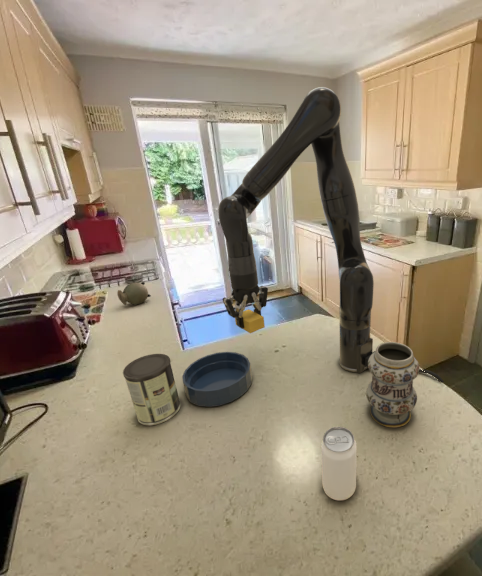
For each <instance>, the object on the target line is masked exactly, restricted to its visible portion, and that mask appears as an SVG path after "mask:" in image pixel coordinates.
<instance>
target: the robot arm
mask: <svg viewBox="0 0 482 576" xmlns="http://www.w3.org/2000/svg"><path fill="white" fill-rule="evenodd" d="M341 113H342V107H341V102H340V98H339V96H338V95H337V94H336V92H335V91H334V90H332V89H331V88H328V87H325V86H319V87H314V88H313V89H311V90H310V91H308V92H307V94H306V95H305V96H304V98H303V100H302V102H301V103H300V106H299V107H298V108H297V110H296V112H295V114H294V115H293V117H292V119H291V120H290V121H289V123H288V124H287V126H286V127H285V129H284V130H283V131H282V133H281V134H280V135H279V137H278V138H277V139H276V140H275V141H274V142H273V144H271V146H270V147H269V148H268V149H267V150H266V151H265V153H263V155H262V156H261V157H260V158H259V159H258V160H257V161H256V162H255V164H254V165H253V166H252V167H250V169H249V171H248V172H247V173H246V174H245V175H244V177H243V179H242V180H241V181H242V182H241V184H240V185H239V186H238V187H237V188H236V189H235V191H234V192H233V193H232V194H231V195H230V196H226V197H224V198H222V199H221V200H220V201H219V204H218V208H217V209H218V210H217V214H218V220H219V224H220V227H221V230H222V233H223V236H224V239H225V246H226V254H227V268H228V275H229V280H230V281H229V282H230V287H231V295H229V296H227V297H225V296H224V297H223V298H222V303H223V305H224V307H225V310H226V312H227V315H229V316H230V317H231V318H233V319H235V317H236V322H235V324H236V323H237V325H236V326H237V327H239V328H240V329H242V330H244V329H243V328H244V321H243V317H242V316H243V311H245V310H246V306H247V305H249V304H251V305H252V308H253V312H255V313H257V314H259V315H261V316H262V309H263V308H266V306H267V303H268V302H267V301H268V291H269V288H268V287H266V286H264V285H260V286H259V285H258V284H259V278H258V277H259V276H258V269H257V261H256V257H255V250H254V241H253V237H252V235H251V233H249V227H248V220H247V219H248V218H249V217H250V216H251V215H252V214H253V212H254V211H255V210H256V209H257V207H258V206H259V205H260V204H261V202H262V201H263V199H265V198H267V196H268V195H269V194H270V193H271V192H272V191H273V190H274V189H275V187H276V186H277V185H278V184H279V183H280V182H281V181H282V179H284V177H285V176H286V174H287V173H288V172H289V170H290V169H291V168H292V166H293V165H294V163H296V161H297V159H299V157H300V156H301V155H302V154H303V153H304V152H305V150H306V149H307V148H309V146H311V147H312V152H313V155H314V159H315V164H316V176H317V184H318V192H319V197H320V203H321V206H322V211H323V215H324V218H325V222H326V225H327V227H328V230H329V233H330V236H331V237H332V240H333V243H334V246H335V247H334V248H335V251H336V258H337V268H338V280H339V307H338V308H339V310H338V311H339V312H338V313H339V314H338V315H339V366H340V367H341V368H342V369H343V370H344V371H347V372H351V373H357V374H361V373H363V372H364V371H367V369H369V368H368V360H369V358H370V356H371V355H372V354H373V353H374V352H376V350H374V351H373V348H374V339H373V338H372V337H371V322H372V321H371V318H372V309H373V303H374V302H373V301H374V286H375V283H374V281H375V280H374V275H373V273H372V270H371V269H370V266H369V265H368V262H367V259H366V256H365V253H364V249H363V246H362V241H361V222H360V221H361V220H360V209H359V203H358V202H359V201H358V197H357V193H356V187H355V183H354V180H353V177H352V174H351V170H350V168H349V166H348V165H349V164H348V163H347V160H346V157H345V154H344V150H343V144H342V137H341V126H340V119H341V116H342V115H341ZM234 301H235V302H234ZM234 303H235V304H234ZM233 304H234V305H233ZM421 369H422V368H420V369H419V374H420V373H423V374H427V373H428V374H427V375H430V376H431V377H434V378H435V379H436V380H437V381H439V382H440V383H445V381H444V380H443V378H442V377H441V376H440V375H439V374H437V373H435V372H434V371H433V370H432V371H431V370H429V369H422V370H423V371H422V370H421ZM424 371H425V372H424Z"/></svg>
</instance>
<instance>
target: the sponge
mask: <svg viewBox="0 0 482 576" xmlns="http://www.w3.org/2000/svg"><path fill="white" fill-rule="evenodd" d="M242 317H243V321H244V328H243V329H242V330H244V332H247V333H249V334H253V333H255V332H257V331H260V330H262V329H264V328H265V327H266V326H265V317H264V316H263V315H262V314H261V315H259V314H257V313H255V312H254V310H251V309H249V308H248V309H245V310H244V311H243V316H242ZM234 322H235V326H237V323H236V317H235V318H234Z"/></svg>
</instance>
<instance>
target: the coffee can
mask: <svg viewBox="0 0 482 576" xmlns="http://www.w3.org/2000/svg"><path fill="white" fill-rule="evenodd" d="M122 375H123V378H124V379H125V382H126V386H127V388H128V392H129V395H130V399H131V402H132V404H133V408H134V410H135V414H136V419H137V421H138V423H139V424H141V425H143V426H156V425H160V424H163V423H165V422H167V421H169V420H170V419H172V418H173V417H175V415H177V413H178V412H179V411H180V408H181V405H182V404H181V400H180V396H179V393H178V388H177V385H176V380H175V377H174V372H173V368H172V363H171V358H170V356H169V355H167V354H164V353H152V354H151V353H150V354H147V355H143V356H140V357H138V358H136V359H134V360H132V361H130V362H129V363H128V364H127V365H126V366H124V368H123V370H122Z"/></svg>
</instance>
